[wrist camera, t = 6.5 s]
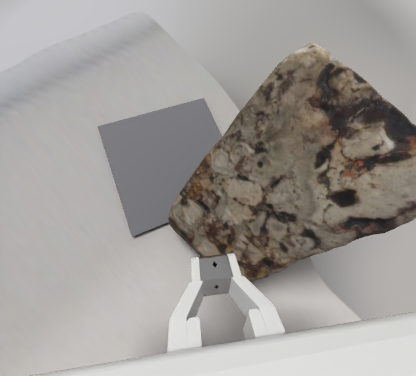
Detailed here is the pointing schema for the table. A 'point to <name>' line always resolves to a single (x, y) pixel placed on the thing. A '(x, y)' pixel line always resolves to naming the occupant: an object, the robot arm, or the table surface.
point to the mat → (157, 158)
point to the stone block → (301, 169)
